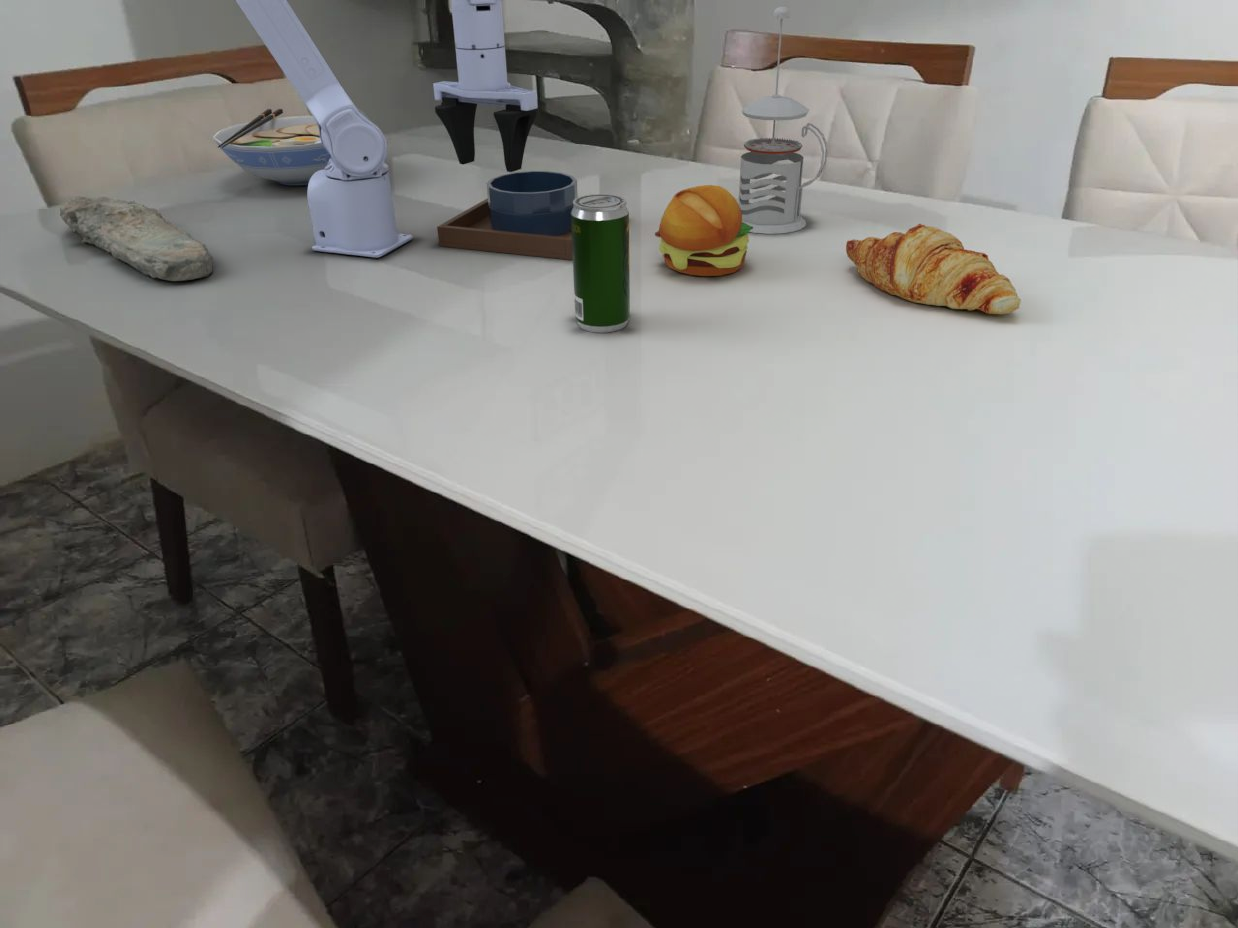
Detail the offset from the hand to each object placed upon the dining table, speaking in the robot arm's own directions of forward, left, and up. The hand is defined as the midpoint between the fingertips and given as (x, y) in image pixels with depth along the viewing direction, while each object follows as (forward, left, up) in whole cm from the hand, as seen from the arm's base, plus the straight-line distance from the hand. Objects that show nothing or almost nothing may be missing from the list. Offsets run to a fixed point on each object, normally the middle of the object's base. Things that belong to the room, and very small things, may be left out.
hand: (490, 166), depth 115 cm
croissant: (+53, -7, -8) cm, 54 cm away
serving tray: (+5, 0, -8) cm, 9 cm away
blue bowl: (+5, +1, -7) cm, 9 cm away
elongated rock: (-39, -20, -8) cm, 45 cm away
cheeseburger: (+29, -6, -8) cm, 31 cm away
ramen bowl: (-40, +14, -8) cm, 43 cm away
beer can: (+24, -25, -8) cm, 36 cm away
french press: (+33, +13, -8) cm, 37 cm away
